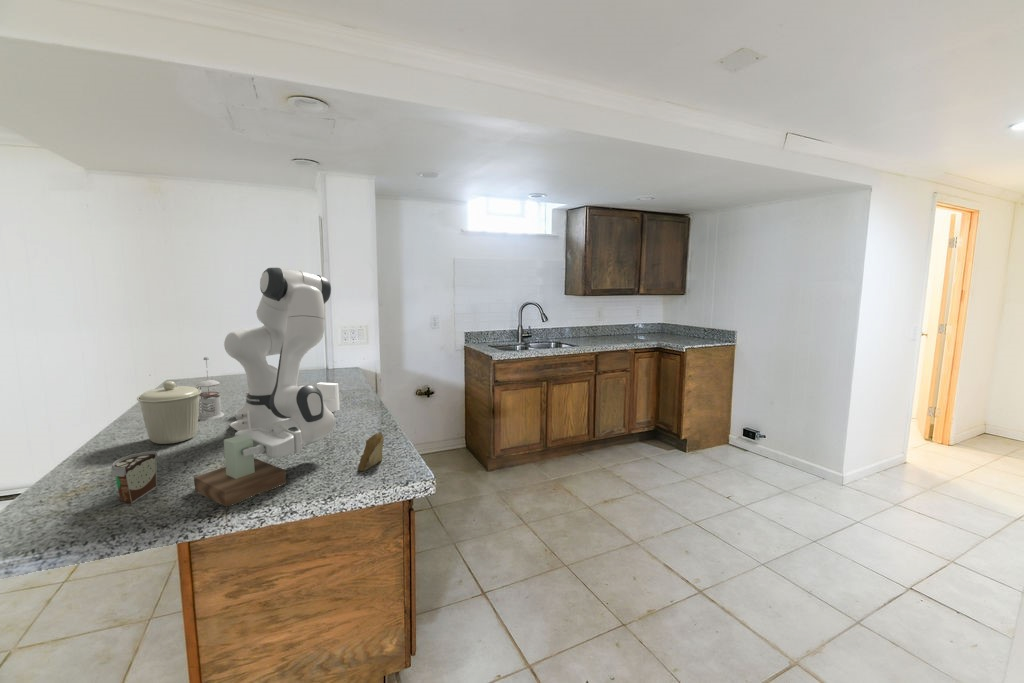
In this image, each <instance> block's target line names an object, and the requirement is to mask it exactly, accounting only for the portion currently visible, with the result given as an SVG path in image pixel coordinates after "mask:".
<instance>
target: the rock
mask: <svg viewBox="0 0 1024 683" xmlns="http://www.w3.org/2000/svg"><path fill="white" fill-rule="evenodd" d="M384 439H385V438H384V435H383V434H382V433H381V432H379V433H375V434H373V435H372V436H371V437H369V438H368V439H366V441H365V447H364V449H363V453H362V455H361V456H360V460H359V463H358V467H357V471H361V472H365V471H366V470H368V469H370V468H372V467H373V466H376V465H377V464H378V463H380V462H381V461H382V460H383V448H384Z"/></svg>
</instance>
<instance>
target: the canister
mask: <svg viewBox="0 0 1024 683" xmlns="http://www.w3.org/2000/svg"><path fill="white" fill-rule="evenodd" d="M176 385H177V384H176V382H174V381H173V380H168V381H165V382H164V383H163V384H162V387H160V388H155V389H151V390H148V391H145V392H143V393H142V394H141V395H140V394H139V396H137V397H136V401H137V402H139V405H140V409H141V412H142V417H143V421H144V426H145V429H146V433H147V436H148V438H149V440H150V441H151V443H152V442H153V443H154V444H158V445H169V444H177V443H181V442H185V441H187V440H190V439H192V438H193V437H194V436H195V435H196V434H197V432H198V425H199V420H198V415H199V399H200V396H199V394H201V393H202V389H201V390H200V388H198V389H197V388H196V387H195V386H187V385H178V386H176Z"/></svg>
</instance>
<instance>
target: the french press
mask: <svg viewBox="0 0 1024 683" xmlns="http://www.w3.org/2000/svg"><path fill="white" fill-rule="evenodd" d="M202 360H203V361H205V364H206V367H208V362H207V361H208V360H210V357H208V356H205V357H203V359H202ZM206 374H207V375H206V376H207V377H206V380H202V381H199V382H198V383H196V384H195V385H196V387H195V388H197V389H199V390H201V391H202V388H207V391H204V392H201V394H199V397H200V398H199V414H198V421H199V420H200V421H207V420H214V419H219V418H221V417H222V418H223V417H224V416H225V413H224V412H222V406H221V404H222V403H221V395H220V394H219V393H220V392H219V391H216V390H212V391H210V387H215V386H219V385H220V382H219V381H218V380H214V379H209V375H208V371H206Z"/></svg>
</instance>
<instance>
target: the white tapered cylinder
mask: <svg viewBox="0 0 1024 683" xmlns="http://www.w3.org/2000/svg"><path fill="white" fill-rule="evenodd" d="M316 387H317V388H318V389H319V390H320V391H321V393H322V396H323V401H324V404H325V406H326V407H327V409H328V410H329V411H331V412H334V411H337V410H339V411H340V395H339V393H340V392H339V383H333V382H317V383H316ZM337 412H338V411H337ZM334 413H335V412H334Z"/></svg>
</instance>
